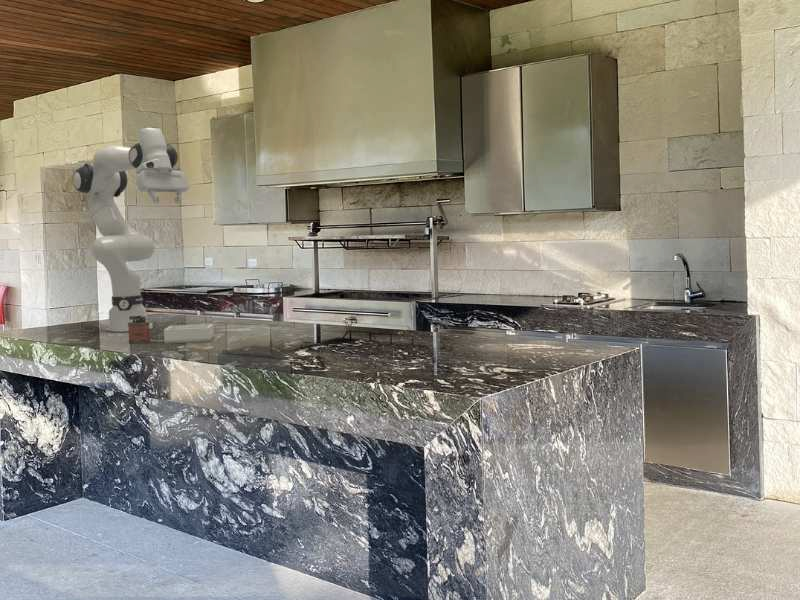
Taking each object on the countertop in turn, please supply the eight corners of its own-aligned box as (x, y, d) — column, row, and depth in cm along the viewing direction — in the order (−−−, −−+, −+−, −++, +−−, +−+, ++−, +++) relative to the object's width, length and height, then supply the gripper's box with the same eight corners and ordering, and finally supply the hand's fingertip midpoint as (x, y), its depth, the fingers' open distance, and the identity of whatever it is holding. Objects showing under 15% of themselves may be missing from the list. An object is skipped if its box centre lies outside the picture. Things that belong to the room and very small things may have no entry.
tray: (170, 339, 318) (169, 325, 317) (214, 337, 319) (213, 323, 319) (164, 343, 306) (163, 329, 305) (209, 341, 307) (209, 327, 307)
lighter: (152, 341, 312) (150, 314, 311) (148, 343, 309) (146, 315, 308) (131, 342, 313) (129, 315, 312) (127, 343, 310) (125, 316, 309)
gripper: (178, 171, 330) (186, 205, 328) (131, 169, 315) (139, 205, 313) (187, 165, 326) (195, 199, 324) (139, 163, 311) (147, 199, 309)
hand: (167, 202), depth 318 cm, fingers open, 8 cm apart
